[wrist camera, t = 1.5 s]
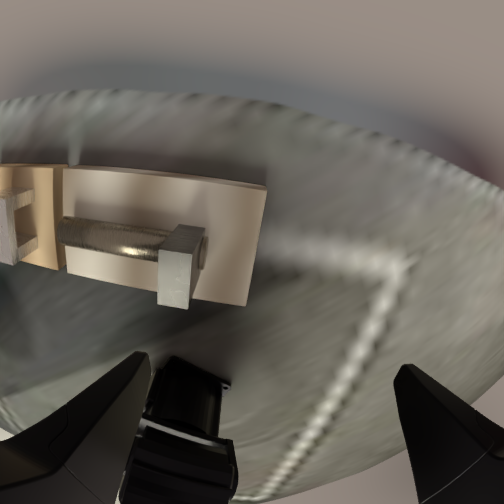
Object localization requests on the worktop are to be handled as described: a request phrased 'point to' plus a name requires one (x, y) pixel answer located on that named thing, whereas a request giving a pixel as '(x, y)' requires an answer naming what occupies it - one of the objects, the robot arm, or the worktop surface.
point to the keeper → (3, 226)
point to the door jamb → (142, 221)
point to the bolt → (146, 251)
